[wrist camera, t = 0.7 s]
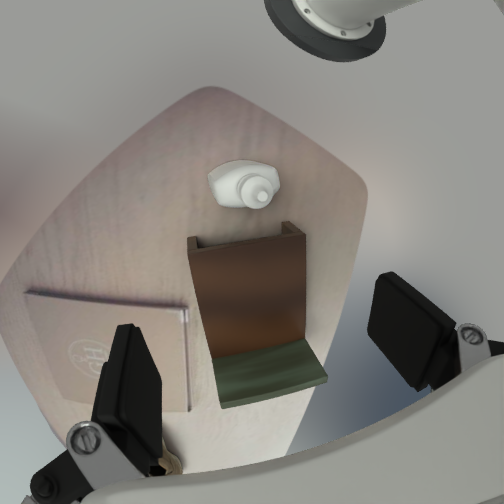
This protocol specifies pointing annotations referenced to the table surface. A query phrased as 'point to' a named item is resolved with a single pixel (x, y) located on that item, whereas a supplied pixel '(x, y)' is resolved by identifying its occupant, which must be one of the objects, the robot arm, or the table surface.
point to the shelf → (256, 316)
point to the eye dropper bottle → (244, 184)
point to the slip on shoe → (166, 464)
